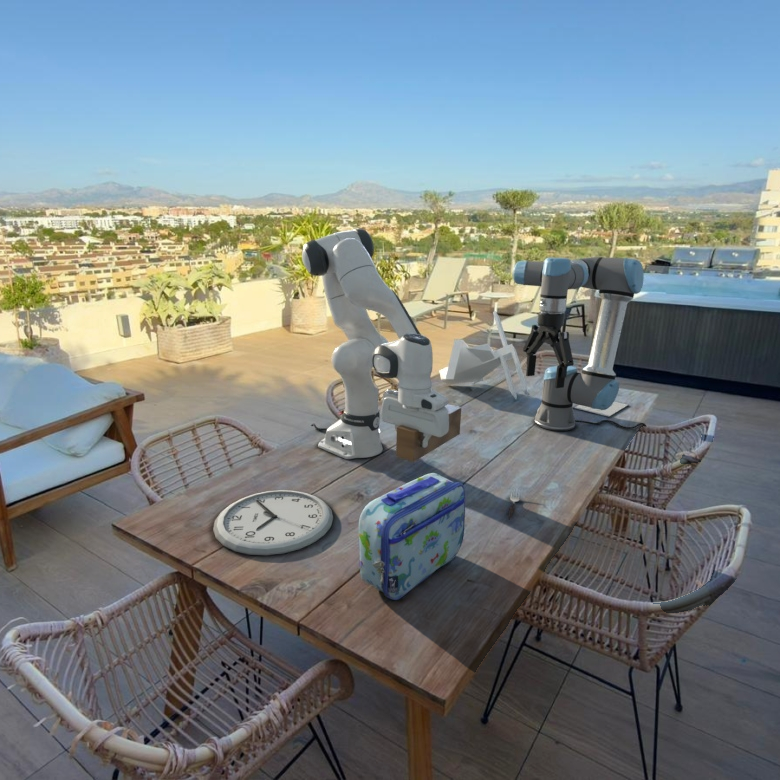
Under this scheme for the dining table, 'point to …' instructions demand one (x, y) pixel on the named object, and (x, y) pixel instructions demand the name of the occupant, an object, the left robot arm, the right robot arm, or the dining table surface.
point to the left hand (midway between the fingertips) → (412, 443)
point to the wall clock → (273, 522)
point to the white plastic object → (482, 362)
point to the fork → (514, 499)
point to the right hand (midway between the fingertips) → (544, 381)
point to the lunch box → (410, 533)
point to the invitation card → (608, 412)
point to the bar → (411, 437)
